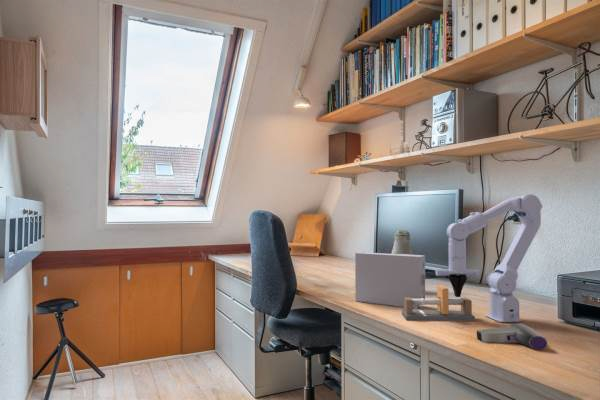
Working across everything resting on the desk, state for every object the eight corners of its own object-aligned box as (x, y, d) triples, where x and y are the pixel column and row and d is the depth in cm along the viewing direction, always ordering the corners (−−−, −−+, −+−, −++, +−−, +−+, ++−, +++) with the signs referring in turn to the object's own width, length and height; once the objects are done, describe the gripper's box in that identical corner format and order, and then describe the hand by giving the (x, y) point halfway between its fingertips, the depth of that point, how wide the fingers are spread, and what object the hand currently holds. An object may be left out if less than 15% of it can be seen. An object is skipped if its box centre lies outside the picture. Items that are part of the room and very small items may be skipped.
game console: (360, 298, 182) (360, 251, 183) (425, 306, 168) (425, 255, 169) (355, 301, 177) (355, 252, 178) (421, 309, 163) (421, 256, 164)
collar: (442, 309, 154) (442, 285, 154) (448, 314, 147) (448, 288, 147) (437, 309, 154) (437, 285, 154) (442, 314, 147) (442, 288, 147)
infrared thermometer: (475, 341, 127) (525, 338, 128) (495, 355, 115) (550, 351, 116) (474, 326, 127) (524, 322, 128) (494, 338, 115) (549, 334, 116)
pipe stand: (466, 315, 154) (466, 296, 154) (474, 321, 146) (474, 301, 146) (401, 314, 155) (401, 295, 155) (406, 320, 147) (406, 300, 147)
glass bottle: (390, 291, 197) (389, 230, 198) (392, 287, 207) (392, 229, 208) (412, 293, 194) (411, 230, 195) (413, 289, 204) (413, 229, 204)
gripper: (474, 256, 154) (474, 294, 154) (433, 256, 155) (433, 293, 155) (481, 258, 147) (481, 298, 147) (438, 258, 148) (438, 298, 148)
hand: (457, 296), depth 150 cm, fingers closed
